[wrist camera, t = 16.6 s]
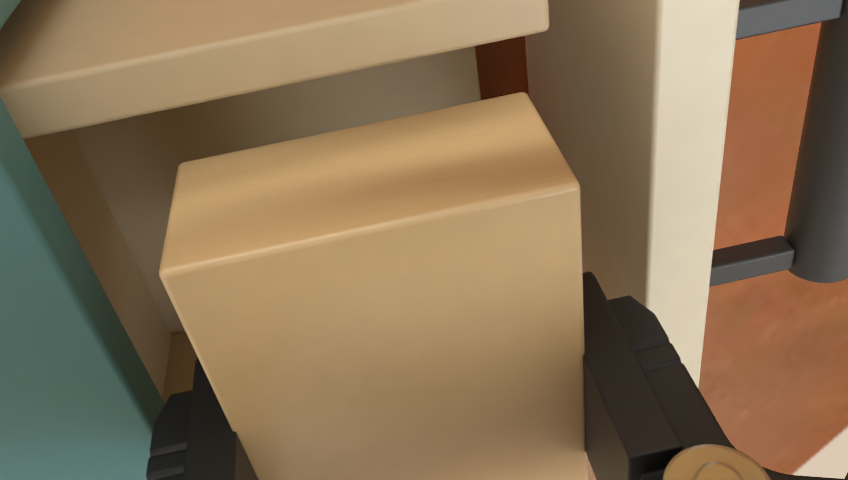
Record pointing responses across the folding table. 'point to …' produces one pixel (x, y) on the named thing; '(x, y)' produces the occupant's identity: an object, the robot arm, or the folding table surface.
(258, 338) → the tan rectangular block
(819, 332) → the folding table surface
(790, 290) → the folding table surface
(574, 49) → the drawer
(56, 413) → the cabinet
